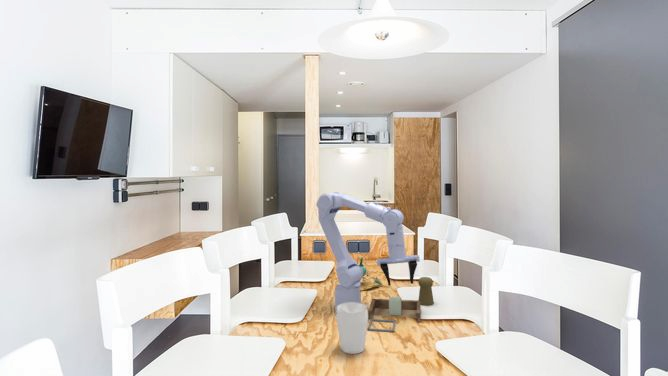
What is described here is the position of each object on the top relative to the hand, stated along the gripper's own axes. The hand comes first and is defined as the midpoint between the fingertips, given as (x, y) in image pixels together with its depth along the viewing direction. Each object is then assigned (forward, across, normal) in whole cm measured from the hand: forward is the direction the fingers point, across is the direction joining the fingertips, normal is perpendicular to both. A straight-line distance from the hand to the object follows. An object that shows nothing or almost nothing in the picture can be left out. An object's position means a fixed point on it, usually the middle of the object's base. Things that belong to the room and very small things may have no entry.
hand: (400, 284), depth 128 cm
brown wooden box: (+11, -3, 0) cm, 12 cm away
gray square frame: (+11, -8, -10) cm, 18 cm away
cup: (+11, -18, -23) cm, 31 cm away
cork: (+12, +9, +10) cm, 18 cm away
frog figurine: (+10, -13, +34) cm, 38 cm away
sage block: (+10, -3, +1) cm, 10 cm away
